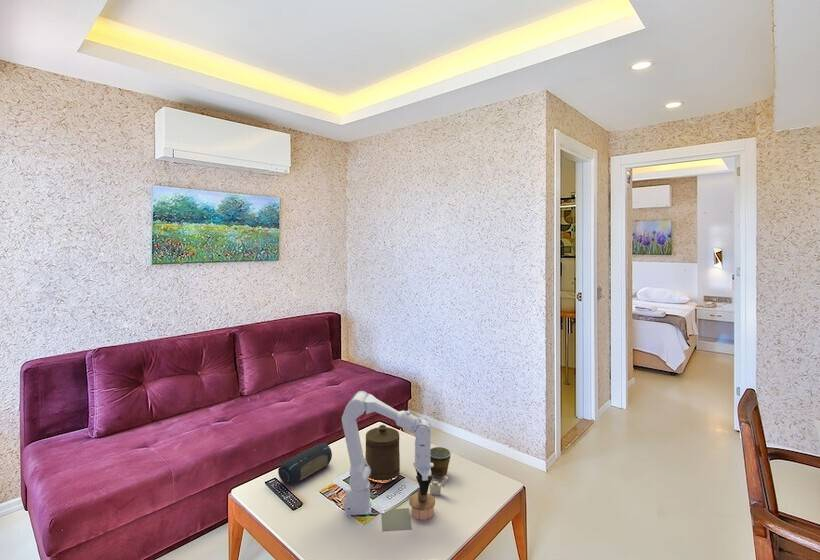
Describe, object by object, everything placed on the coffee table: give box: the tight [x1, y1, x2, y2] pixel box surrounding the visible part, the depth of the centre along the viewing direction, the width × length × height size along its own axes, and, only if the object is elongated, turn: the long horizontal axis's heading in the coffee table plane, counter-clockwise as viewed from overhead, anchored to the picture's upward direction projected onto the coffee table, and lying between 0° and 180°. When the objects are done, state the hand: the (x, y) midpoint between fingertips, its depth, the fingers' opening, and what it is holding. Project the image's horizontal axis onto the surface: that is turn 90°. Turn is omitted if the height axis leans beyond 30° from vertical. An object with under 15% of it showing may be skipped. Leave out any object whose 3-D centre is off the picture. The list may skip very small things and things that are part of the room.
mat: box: [380, 507, 413, 532], centre depth 152 cm, size 10×12×1 cm
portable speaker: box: [277, 443, 333, 486], centre depth 183 cm, size 25×10×10 cm, turn 145°
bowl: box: [410, 506, 435, 520], centre depth 156 cm, size 8×8×4 cm
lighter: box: [429, 475, 449, 496], centre depth 167 cm, size 7×2×8 cm, turn 81°
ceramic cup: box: [430, 446, 452, 479], centre depth 182 cm, size 13×10×10 cm
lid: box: [408, 487, 436, 510], centre depth 156 cm, size 10×10×5 cm
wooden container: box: [364, 424, 401, 481], centre depth 182 cm, size 15×15×22 cm
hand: (422, 488), depth 155 cm, fingers open, 7 cm apart
